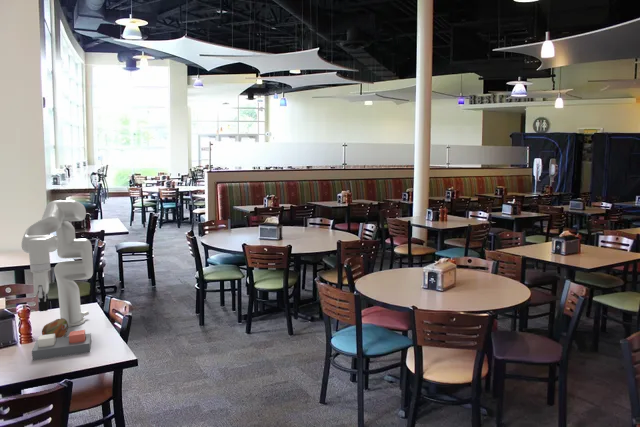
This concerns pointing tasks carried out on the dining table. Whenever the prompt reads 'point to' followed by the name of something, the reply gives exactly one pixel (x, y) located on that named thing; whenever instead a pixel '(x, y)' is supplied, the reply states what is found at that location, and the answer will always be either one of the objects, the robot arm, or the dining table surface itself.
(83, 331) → the red button
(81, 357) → the dining table surface
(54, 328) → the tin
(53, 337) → the white button
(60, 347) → the console
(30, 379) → the dining table surface
